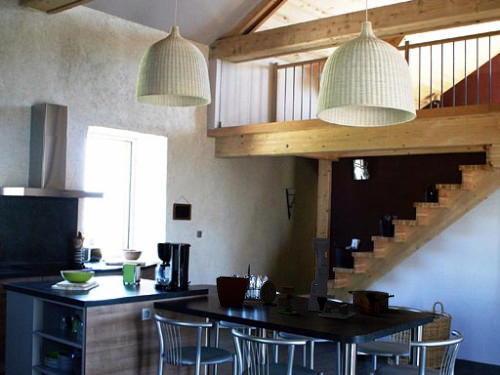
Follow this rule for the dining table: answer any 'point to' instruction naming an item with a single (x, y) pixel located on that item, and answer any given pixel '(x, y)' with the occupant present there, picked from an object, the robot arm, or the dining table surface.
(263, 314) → the dining table surface
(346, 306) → the breaker
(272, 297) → the decorative egg
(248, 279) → the plant pot
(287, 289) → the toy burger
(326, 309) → the breaker
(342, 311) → the breaker
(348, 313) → the breaker panel
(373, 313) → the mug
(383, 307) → the cooking pot
